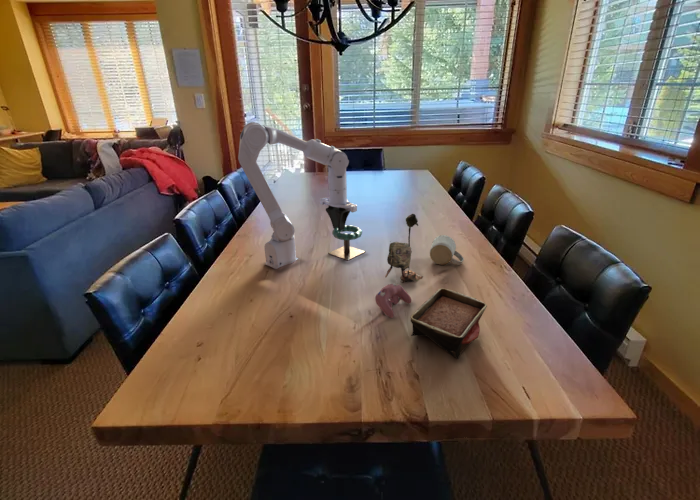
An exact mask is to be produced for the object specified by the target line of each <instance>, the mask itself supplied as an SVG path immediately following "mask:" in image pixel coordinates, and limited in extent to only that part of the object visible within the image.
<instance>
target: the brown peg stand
mask: <svg viewBox="0 0 700 500" xmlns="http://www.w3.org/2000/svg"><path fill="white" fill-rule="evenodd" d="M365 253H366V250H363V249H359V248H357V247H353V246H351V240H343V246H341V247H338V248H336V249H334V250H332V251H330V252H328V255H331V256H332V257H333V256H334V257H336V258H340V259H342V260H345V261H352V260H353V259H355V258H357V257H359V256H361V255H363V254H365Z"/></svg>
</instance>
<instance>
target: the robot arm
mask: <svg viewBox="0 0 700 500" xmlns="http://www.w3.org/2000/svg"><path fill="white" fill-rule="evenodd" d="M267 144H268V145H269V146H270V145H271V146H272V145H275V144H280V145H284V146H287V147H290V148H292V149H294V150H298V151H301V152H303V154H304V157H305V159H309V160H311V161H314V162H317V163H318V164H321V165H324V166H327V173H328V174H327V177H328V178H327V180H328V181H327V183H328V197H322V198H320V200H319V201H320V205H322V206H323V205H326V206H328V207H325V211H326V214H327V215H328V218H329V219H330V222H331V225H332V228H333V229H334V228H336V227H338V229H339V230H343V229H344V227H345V225H346V222H347V219H348V217H349V215H350V213H356V212H358V205H357V204H354V203H352V202H350V201H349V199H348V190H347V185H348V184H347V168H348V166H349V165H350V164H349V163H350V160H349V159H348V155H347V154H346V153H345V152H344V151H342V150H340V149H338V148H337V147H335V146H334V145H331V146H330V145H327V144H325V143H323V142H322V139H321V140H320V139H318V138H315V139H313V138H312V139H309V140H304V139H302V138H300V137H297V136H295V135H292V134H290V133H288V132H285V131H284V130H281V129H279V128H276V127H273V126H270V125H265V124H260V123H259V122H255V121H251V122H248V123H246V124H245V126H243V128H242V131H241V133H240V135H239V145H238V155H237V159H238V163H239V165H240V167H241V169H242V171H243V173H244V174H245V176H246V178H247V179H248V181H249V183H250V185H251V188H252V189H253V191H254V193H255V194H256V196H257V198H258V200H259V202H260V204H261V206H262V207H263V209H264V211H265V213H266V214H267V217H268V218H269V221H270V222H269V223H270V227H271V228H272V231H273V232H272V234H271V239H270V240H268V241H267V242H265V244H264V256H265V262H264V265H266V266H268V267H270V268H272V269H274V270H277V269H279V268H282V267H284V266H286V265H290V264H293V263H295V262H297V260H300V258H298V257H297V252H296V250H297V249H296V239H295V232H296V231H295V227H294V224H292V222H291V219H290V217H289V216H288V215H287V214H286V213H284V212H283V210H282V208H281V206H280V204H279V203H278V201H277V198H276V197H275V195H274V193H273V191H272V189H271V187H270V185H269V183H268V181H267V179H266V178H265V175H264V174H263V172H262V170H261V168H260V166H259V164H258V162H257V161H258V158H259V155H260V153H261V151H262V150H263V149H264V148H265V147H266V145H267Z"/></svg>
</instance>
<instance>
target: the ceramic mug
mask: <svg viewBox="0 0 700 500" xmlns="http://www.w3.org/2000/svg"><path fill="white" fill-rule="evenodd" d="M456 249H457V245H456V242H455V240H454V239H453V237H450V236H449V235H445V234H440V235H437V236H436V237H435V238H434V239H433V241H432V243H431V246H430V250H429V257H430V259H431V261H432V263H435V264H437V265H440V266H443V265H447V264H449V263H451V264H453V265H456V266H461V265H462V264H463V262H464V260H465V258H464V257H463V256H462V254H461V253H460V252H458V251H457V250H456ZM454 257H456V258H457V259H458V260H457V259H455V258H454Z"/></svg>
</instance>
